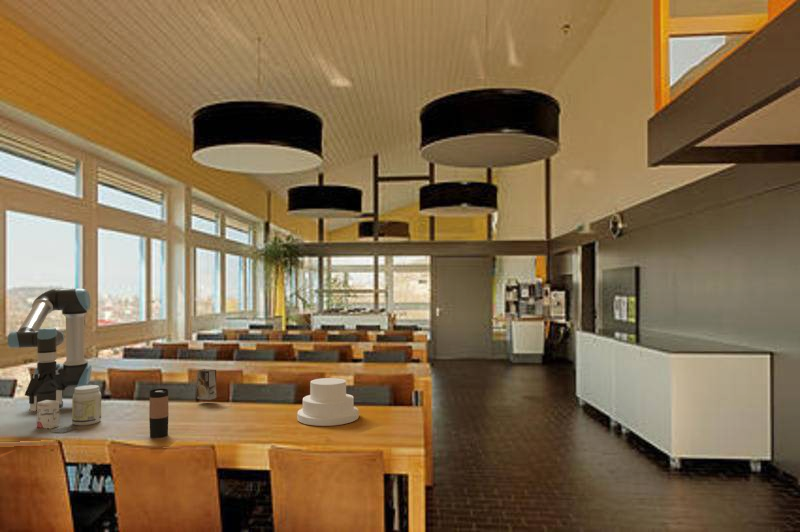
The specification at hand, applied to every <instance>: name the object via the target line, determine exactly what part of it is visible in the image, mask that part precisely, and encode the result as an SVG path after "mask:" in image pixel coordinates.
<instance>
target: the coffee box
mask: <svg viewBox="0 0 800 532" xmlns="http://www.w3.org/2000/svg"><path fill="white" fill-rule="evenodd" d="M196 386H197V387H196V393H197V394H196V396H197V400H207V401H211V400H214V399H217V369H207V368H206V369H205V368H202V369H200V370H197V371H196Z"/></svg>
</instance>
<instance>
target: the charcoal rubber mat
mask: <svg viewBox="0 0 800 532" xmlns="http://www.w3.org/2000/svg"><path fill="white" fill-rule="evenodd" d="M75 430H78V427H73V426H63V427H60V428H57V429H53V430H51V431H49V433H50V432H54V433H53V434H61V433H62V434H65V433H69V432H73V431H75ZM62 434H61V435H62Z"/></svg>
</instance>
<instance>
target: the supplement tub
mask: <svg viewBox="0 0 800 532" xmlns="http://www.w3.org/2000/svg"><path fill="white" fill-rule="evenodd" d="M73 392H74V393H73V395H72V398H71V399H72V403H71V404H72V405H71V406H72V407H71V410H72V411H71V413H72V414H71V417H72V419H71V421H72V424H73V425H75V426H89V425H95V424H97V423H99V422H100V421H101V420H102V393H101V391H100V385H96V384H89V385H88V384H87V385H86V386H80V387H74V391H73Z"/></svg>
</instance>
